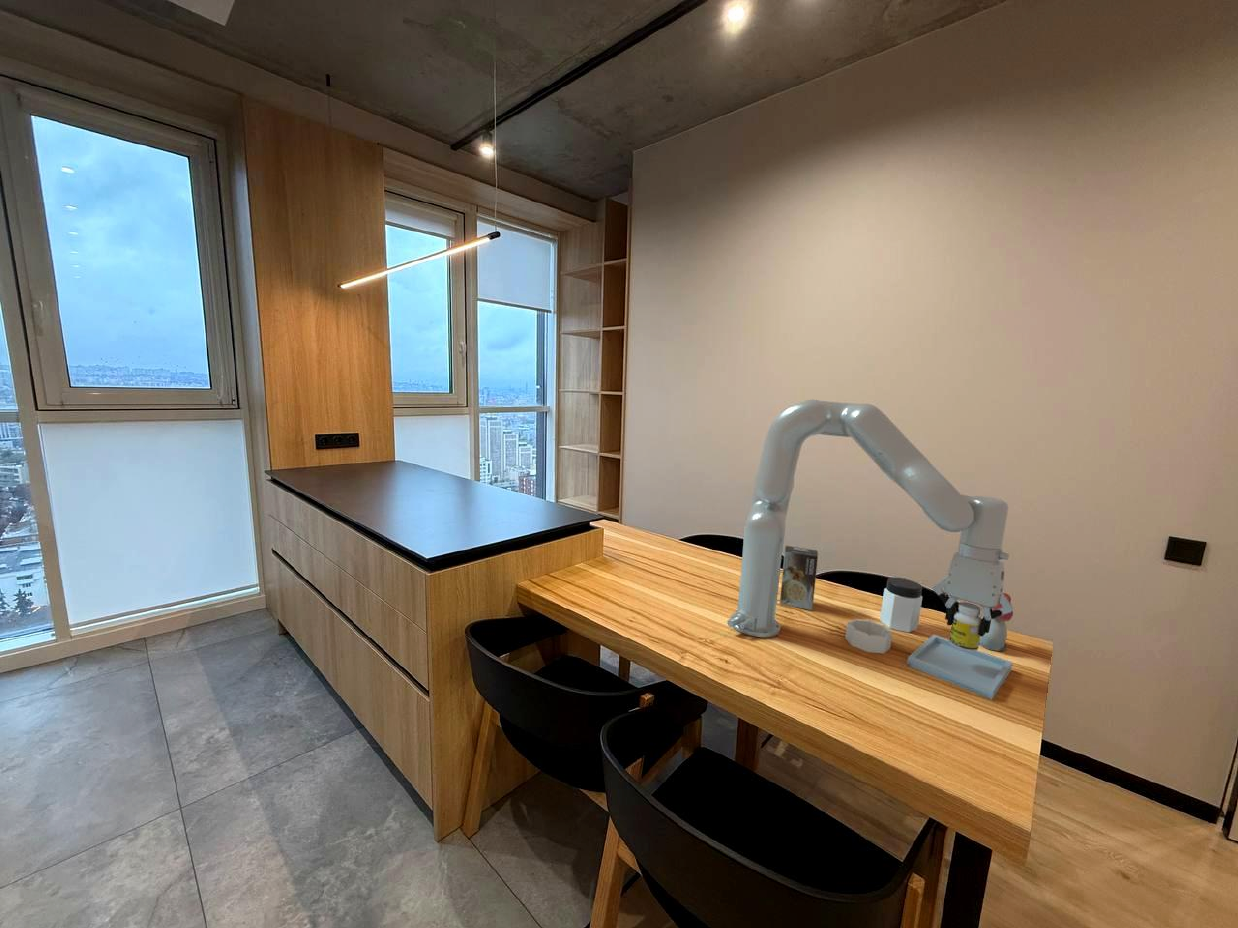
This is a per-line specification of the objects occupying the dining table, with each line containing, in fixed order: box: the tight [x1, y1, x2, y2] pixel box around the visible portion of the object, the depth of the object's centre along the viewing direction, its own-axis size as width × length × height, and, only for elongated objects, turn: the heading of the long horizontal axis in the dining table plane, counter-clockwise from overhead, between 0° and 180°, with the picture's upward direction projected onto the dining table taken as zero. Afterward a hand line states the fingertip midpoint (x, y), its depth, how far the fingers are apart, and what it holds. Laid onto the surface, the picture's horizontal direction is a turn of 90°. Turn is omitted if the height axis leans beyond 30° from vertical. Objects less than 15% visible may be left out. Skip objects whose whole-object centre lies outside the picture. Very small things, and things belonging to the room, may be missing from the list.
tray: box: [906, 634, 1013, 700], centre depth 113 cm, size 18×16×2 cm
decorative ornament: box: [979, 592, 1014, 652], centre depth 124 cm, size 9×7×15 cm
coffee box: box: [779, 545, 819, 611], centre depth 142 cm, size 9×6×16 cm
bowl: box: [845, 618, 893, 654], centre depth 122 cm, size 9×9×4 cm
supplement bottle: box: [949, 601, 982, 652], centre depth 111 cm, size 5×5×10 cm
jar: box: [879, 576, 923, 633], centre depth 132 cm, size 9×8×12 cm
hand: (966, 628), depth 111 cm, fingers closed on supplement bottle, 5 cm apart
